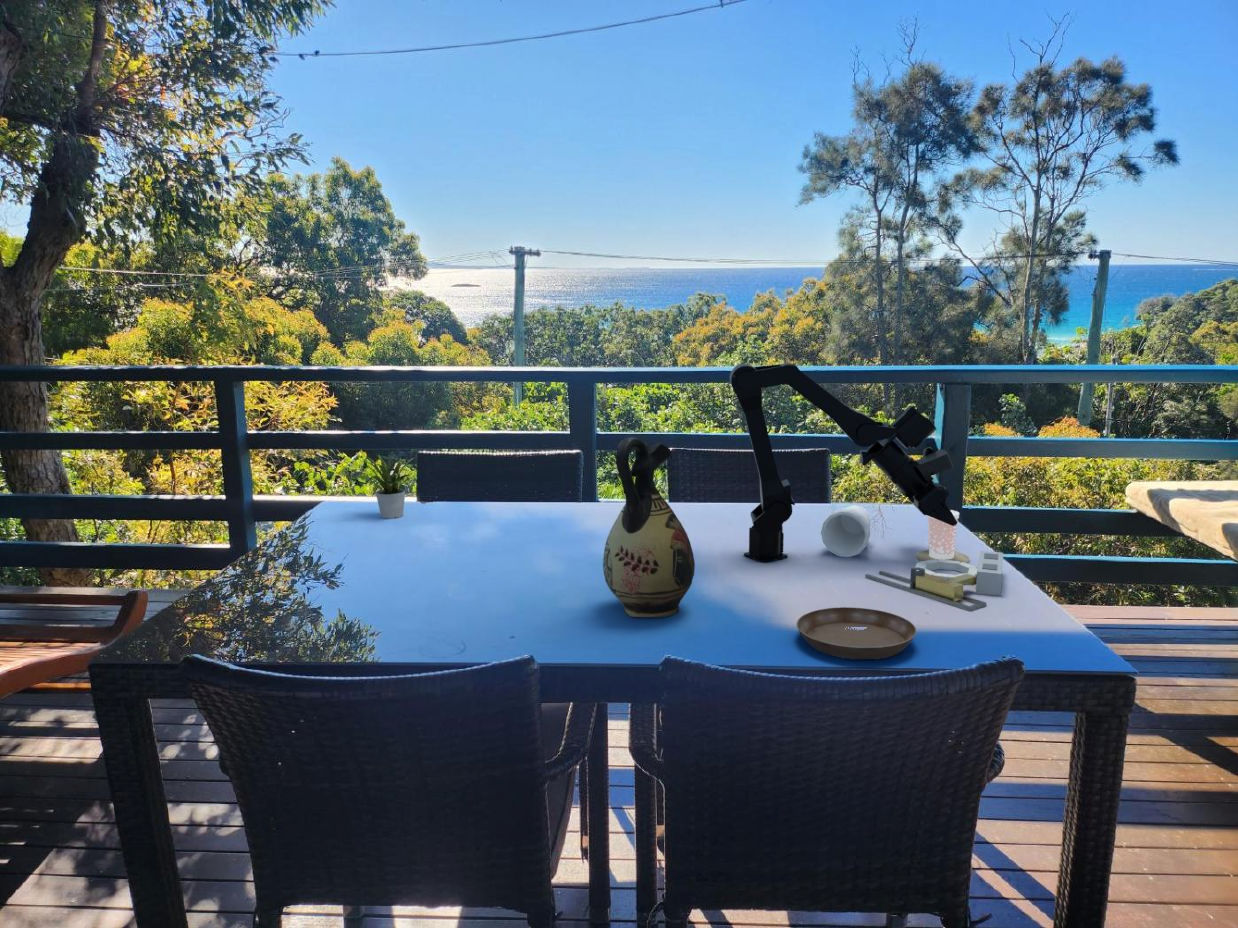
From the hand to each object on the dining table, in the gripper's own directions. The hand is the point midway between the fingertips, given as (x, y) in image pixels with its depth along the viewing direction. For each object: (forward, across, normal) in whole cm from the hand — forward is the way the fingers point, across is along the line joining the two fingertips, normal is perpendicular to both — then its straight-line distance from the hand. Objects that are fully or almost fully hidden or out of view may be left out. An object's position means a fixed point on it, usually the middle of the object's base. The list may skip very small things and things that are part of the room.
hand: (950, 520), depth 179 cm
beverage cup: (+4, 0, +6) cm, 8 cm away
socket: (+4, -14, +7) cm, 16 cm away
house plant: (-83, +32, +96) cm, 131 cm away
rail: (-2, -20, +13) cm, 24 cm away
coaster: (+5, 0, +6) cm, 8 cm away
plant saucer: (-12, -46, +24) cm, 53 cm away
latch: (+1, -21, +10) cm, 23 cm away
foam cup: (-9, +13, +14) cm, 21 cm away
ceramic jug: (-35, -33, +48) cm, 68 cm away
